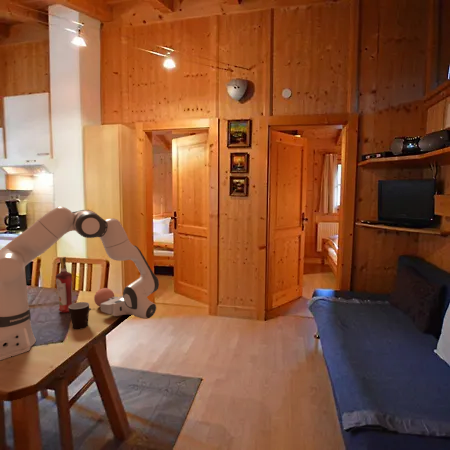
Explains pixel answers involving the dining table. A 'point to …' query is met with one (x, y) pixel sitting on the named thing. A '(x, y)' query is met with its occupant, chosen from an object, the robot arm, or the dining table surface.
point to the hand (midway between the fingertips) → (110, 299)
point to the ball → (103, 296)
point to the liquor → (64, 287)
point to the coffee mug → (79, 315)
